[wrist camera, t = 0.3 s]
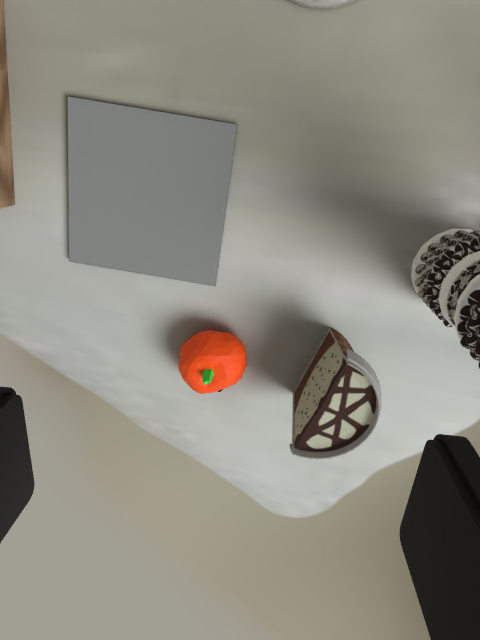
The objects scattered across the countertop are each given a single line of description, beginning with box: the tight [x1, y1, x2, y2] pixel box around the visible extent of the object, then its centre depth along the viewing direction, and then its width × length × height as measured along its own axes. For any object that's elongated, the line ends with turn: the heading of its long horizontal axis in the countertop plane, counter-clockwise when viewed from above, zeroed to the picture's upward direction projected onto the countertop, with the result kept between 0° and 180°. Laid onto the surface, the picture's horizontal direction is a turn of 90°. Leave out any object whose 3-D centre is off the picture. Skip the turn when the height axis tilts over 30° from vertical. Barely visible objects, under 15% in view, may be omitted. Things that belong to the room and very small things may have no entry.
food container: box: [290, 327, 381, 459], centre depth 45 cm, size 12×6×10 cm, turn 157°
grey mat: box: [68, 97, 237, 286], centre depth 43 cm, size 16×16×1 cm
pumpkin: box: [179, 330, 247, 394], centre depth 47 cm, size 7×8×6 cm
